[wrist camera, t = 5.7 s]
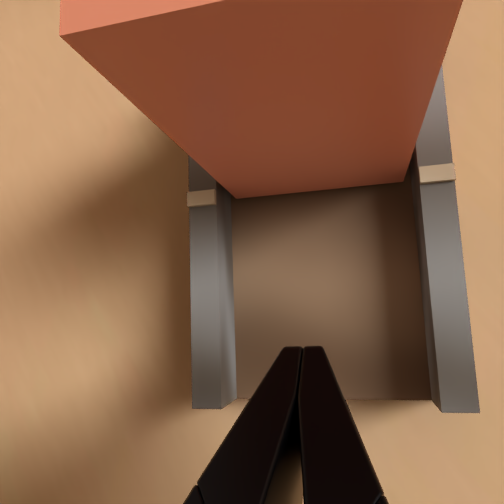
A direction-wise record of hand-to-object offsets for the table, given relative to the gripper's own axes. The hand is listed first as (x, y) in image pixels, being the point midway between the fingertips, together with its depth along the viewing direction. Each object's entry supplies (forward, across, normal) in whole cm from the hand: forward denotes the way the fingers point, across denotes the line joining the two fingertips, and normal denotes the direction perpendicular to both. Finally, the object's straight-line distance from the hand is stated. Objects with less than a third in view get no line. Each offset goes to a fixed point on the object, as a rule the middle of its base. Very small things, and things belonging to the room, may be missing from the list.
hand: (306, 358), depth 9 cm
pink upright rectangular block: (+9, 0, -1) cm, 9 cm away
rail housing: (+9, 0, +2) cm, 9 cm away
